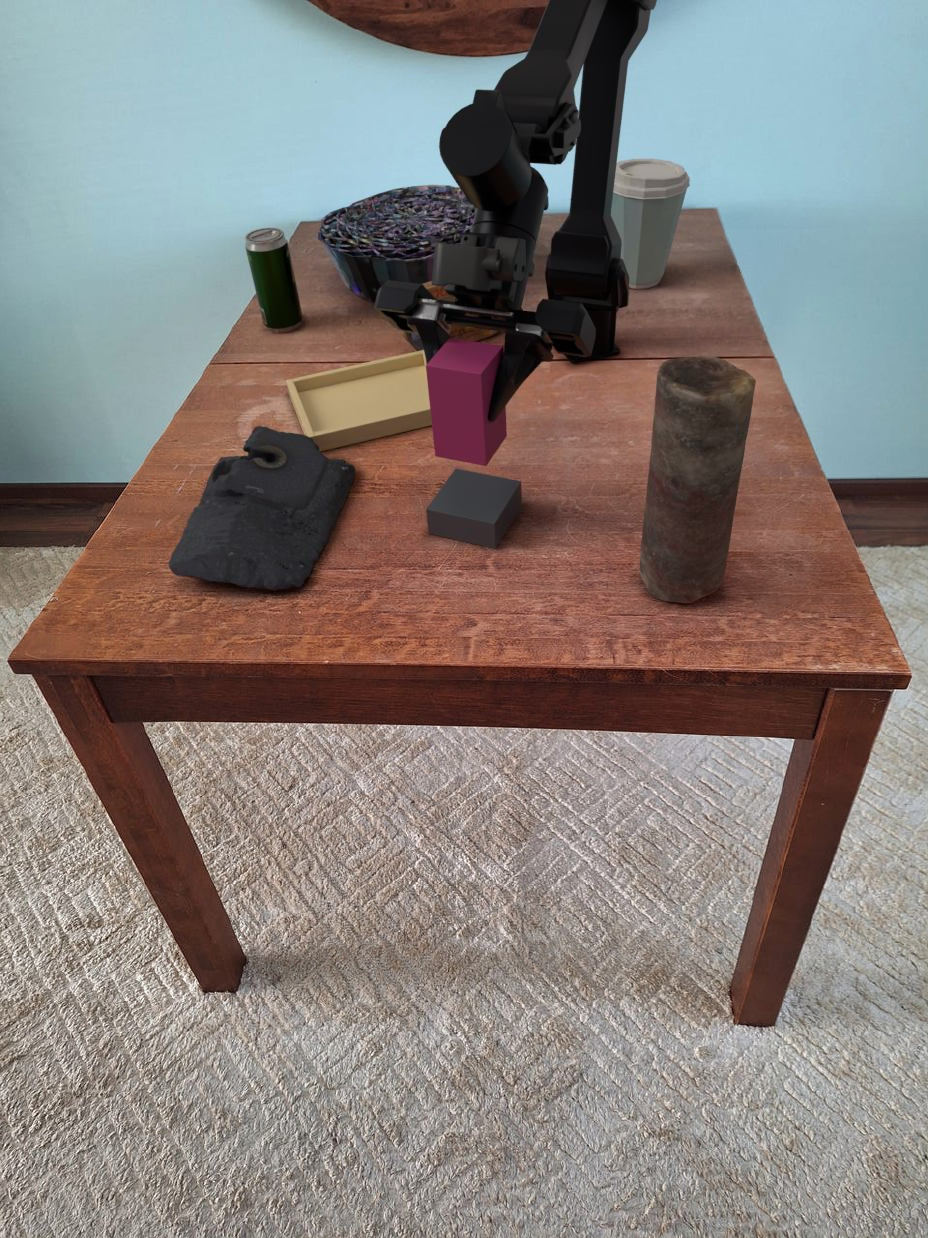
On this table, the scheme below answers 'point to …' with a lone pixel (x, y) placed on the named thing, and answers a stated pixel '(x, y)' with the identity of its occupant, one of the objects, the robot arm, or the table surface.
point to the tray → (363, 400)
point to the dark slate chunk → (264, 513)
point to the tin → (456, 330)
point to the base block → (474, 508)
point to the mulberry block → (465, 401)
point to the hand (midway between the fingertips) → (462, 415)
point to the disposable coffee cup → (647, 215)
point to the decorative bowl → (394, 235)
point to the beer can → (274, 279)
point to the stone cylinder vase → (693, 475)
